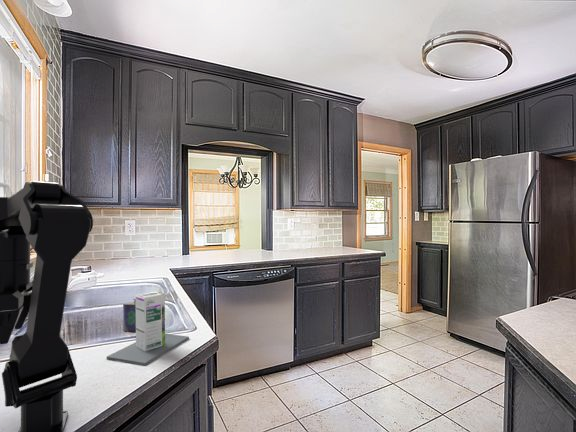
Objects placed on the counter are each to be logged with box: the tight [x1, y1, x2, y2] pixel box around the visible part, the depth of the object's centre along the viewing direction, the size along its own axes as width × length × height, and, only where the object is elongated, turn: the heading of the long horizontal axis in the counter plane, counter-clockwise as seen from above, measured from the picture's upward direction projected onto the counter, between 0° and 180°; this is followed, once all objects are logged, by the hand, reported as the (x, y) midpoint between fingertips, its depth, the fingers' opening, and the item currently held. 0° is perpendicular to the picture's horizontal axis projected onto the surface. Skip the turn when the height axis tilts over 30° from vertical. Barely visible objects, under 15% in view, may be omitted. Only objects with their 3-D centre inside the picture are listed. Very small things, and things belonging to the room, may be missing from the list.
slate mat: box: [106, 333, 190, 366], centre depth 87 cm, size 18×12×1 cm, turn 163°
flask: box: [122, 298, 136, 334], centre depth 100 cm, size 9×3×11 cm, turn 76°
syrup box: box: [135, 291, 166, 352], centre depth 87 cm, size 6×6×14 cm
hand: (11, 335), depth 64 cm, fingers open, 9 cm apart
